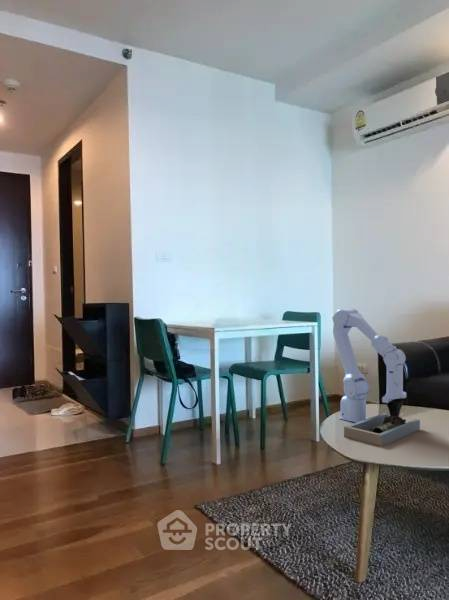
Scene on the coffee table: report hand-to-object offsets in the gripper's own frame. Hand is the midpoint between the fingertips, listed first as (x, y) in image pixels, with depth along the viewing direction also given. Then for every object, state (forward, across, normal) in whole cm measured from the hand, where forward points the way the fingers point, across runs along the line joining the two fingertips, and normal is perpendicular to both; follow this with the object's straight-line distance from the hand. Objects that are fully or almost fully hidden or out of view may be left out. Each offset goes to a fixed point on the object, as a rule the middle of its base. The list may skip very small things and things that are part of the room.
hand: (394, 419), depth 174 cm
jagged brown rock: (+4, -8, -2) cm, 9 cm away
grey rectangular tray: (+3, -8, 0) cm, 9 cm away
